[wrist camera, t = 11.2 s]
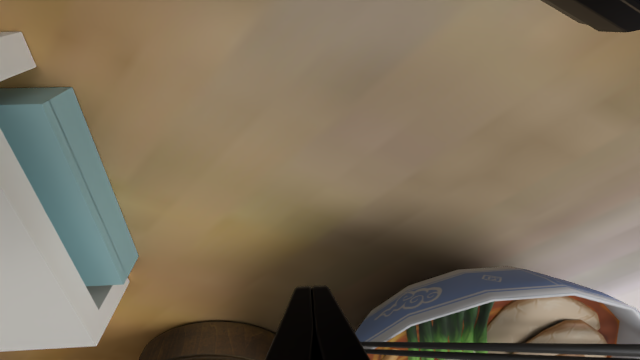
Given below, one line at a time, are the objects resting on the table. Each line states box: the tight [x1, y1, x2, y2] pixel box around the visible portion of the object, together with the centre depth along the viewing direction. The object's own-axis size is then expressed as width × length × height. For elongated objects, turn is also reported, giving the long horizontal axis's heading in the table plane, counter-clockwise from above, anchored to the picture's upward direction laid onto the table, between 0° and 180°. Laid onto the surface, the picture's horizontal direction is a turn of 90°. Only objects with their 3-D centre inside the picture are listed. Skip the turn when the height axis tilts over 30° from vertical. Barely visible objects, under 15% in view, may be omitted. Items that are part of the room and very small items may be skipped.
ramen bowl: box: [355, 266, 640, 360], centre depth 26 cm, size 25×23×8 cm
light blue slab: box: [0, 87, 139, 286], centre depth 19 cm, size 10×12×2 cm
